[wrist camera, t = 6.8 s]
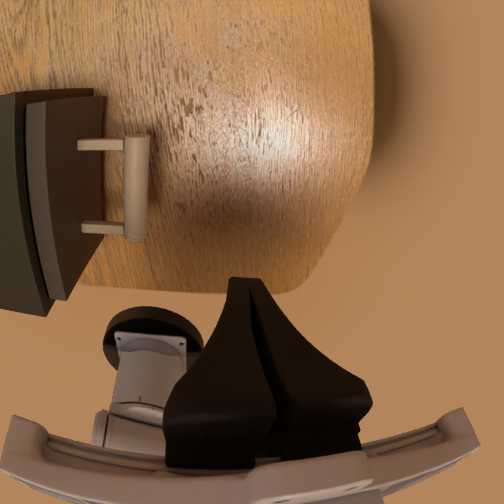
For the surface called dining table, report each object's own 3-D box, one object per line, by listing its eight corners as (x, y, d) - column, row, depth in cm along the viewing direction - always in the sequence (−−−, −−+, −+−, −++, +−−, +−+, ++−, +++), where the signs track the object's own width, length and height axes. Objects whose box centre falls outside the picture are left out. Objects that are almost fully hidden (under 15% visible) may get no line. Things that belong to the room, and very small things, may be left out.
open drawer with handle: (165, 95, 16) (135, 95, 10) (157, 240, 21) (137, 309, 15) (-31, 115, 13) (-95, 137, 7) (-19, 229, 18) (-68, 277, 11)
